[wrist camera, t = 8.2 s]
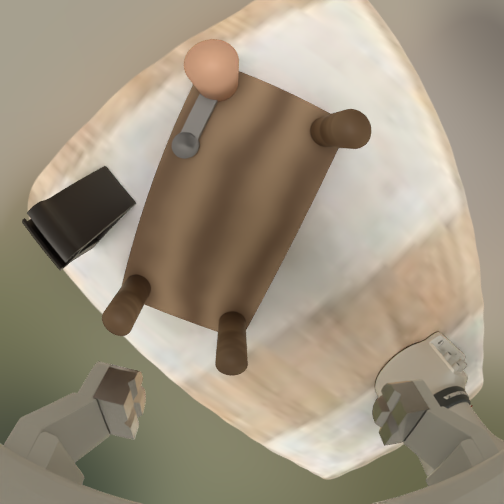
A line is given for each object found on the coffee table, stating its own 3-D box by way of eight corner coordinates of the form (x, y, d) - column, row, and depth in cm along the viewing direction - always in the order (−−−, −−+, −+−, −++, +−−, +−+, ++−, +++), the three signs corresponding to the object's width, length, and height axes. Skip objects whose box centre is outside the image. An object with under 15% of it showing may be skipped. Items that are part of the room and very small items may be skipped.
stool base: (339, 126, 29) (382, 120, 20) (240, 325, 38) (242, 381, 28) (208, 67, 26) (196, 33, 17) (127, 282, 35) (96, 329, 25)
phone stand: (106, 165, 30) (48, 180, 18) (136, 202, 31) (90, 234, 20) (64, 214, 31) (7, 246, 20) (92, 248, 33) (43, 292, 22)
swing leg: (199, 164, 27) (186, 171, 20) (163, 149, 26) (139, 152, 19) (245, 73, 24) (248, 50, 17) (208, 59, 23) (199, 32, 16)
